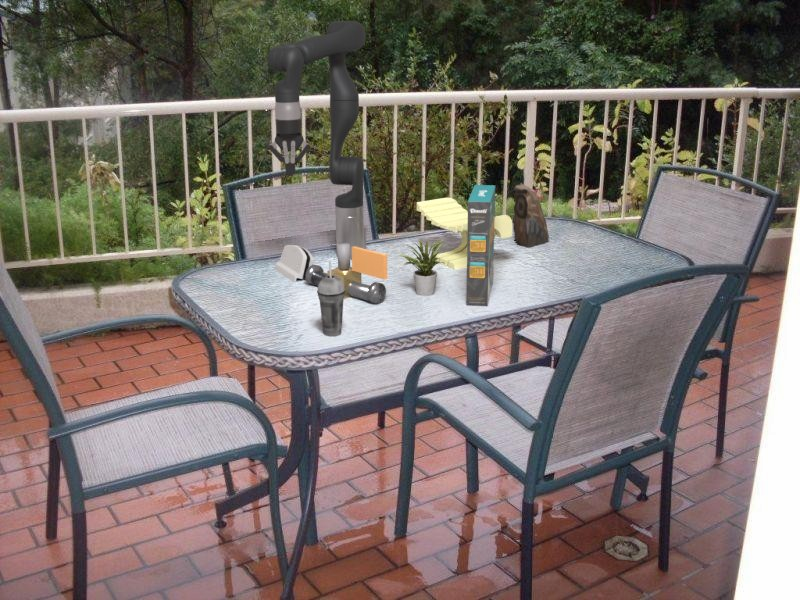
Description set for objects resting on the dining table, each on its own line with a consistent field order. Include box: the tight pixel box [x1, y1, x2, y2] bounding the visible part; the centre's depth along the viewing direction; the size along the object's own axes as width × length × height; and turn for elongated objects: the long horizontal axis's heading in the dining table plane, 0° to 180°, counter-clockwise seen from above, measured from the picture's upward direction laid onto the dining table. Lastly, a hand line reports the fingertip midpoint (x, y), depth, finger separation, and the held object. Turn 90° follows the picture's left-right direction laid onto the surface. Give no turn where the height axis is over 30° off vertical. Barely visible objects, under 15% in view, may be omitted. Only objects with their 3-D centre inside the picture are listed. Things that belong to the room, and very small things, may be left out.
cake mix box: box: [465, 184, 496, 307], centre depth 267 cm, size 22×6×30 cm, turn 171°
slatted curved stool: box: [416, 197, 513, 270], centre depth 301 cm, size 30×16×18 cm, turn 34°
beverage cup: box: [316, 260, 345, 337], centre depth 239 cm, size 7×7×20 cm
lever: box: [336, 243, 388, 281], centre depth 264 cm, size 19×4×7 cm, turn 47°
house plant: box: [399, 238, 445, 297], centre depth 271 cm, size 14×14×16 cm
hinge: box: [273, 244, 314, 283], centre depth 290 cm, size 17×5×10 cm, turn 30°
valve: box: [305, 264, 387, 305], centre depth 271 cm, size 7×28×8 cm, turn 48°
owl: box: [512, 182, 550, 249], centre depth 321 cm, size 13×13×20 cm
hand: (290, 175), depth 278 cm, fingers closed
